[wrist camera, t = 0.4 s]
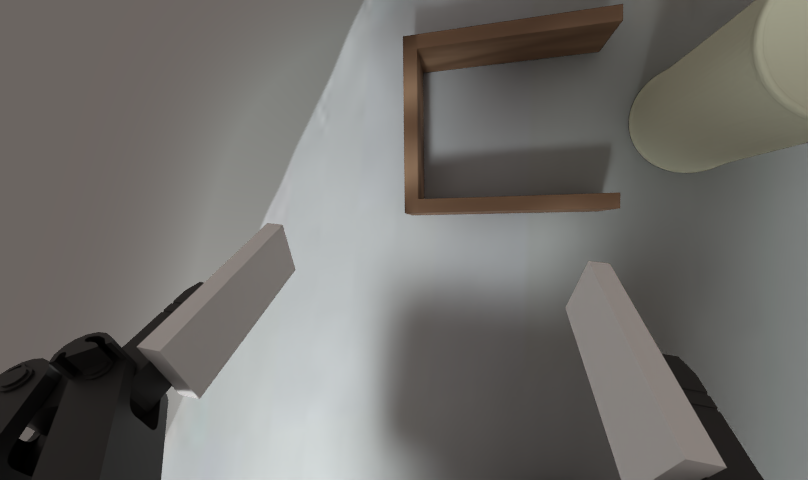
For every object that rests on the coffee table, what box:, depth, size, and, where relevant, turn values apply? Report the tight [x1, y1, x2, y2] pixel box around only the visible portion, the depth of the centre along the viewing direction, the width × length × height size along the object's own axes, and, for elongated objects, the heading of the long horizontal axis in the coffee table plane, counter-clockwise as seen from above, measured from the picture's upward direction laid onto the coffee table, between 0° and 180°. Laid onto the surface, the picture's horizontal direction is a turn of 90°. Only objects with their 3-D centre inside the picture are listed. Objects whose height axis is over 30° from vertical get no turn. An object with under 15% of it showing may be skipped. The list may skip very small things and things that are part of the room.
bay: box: [403, 4, 623, 215], centre depth 26 cm, size 15×17×4 cm
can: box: [629, 0, 808, 173], centre depth 19 cm, size 9×9×12 cm
